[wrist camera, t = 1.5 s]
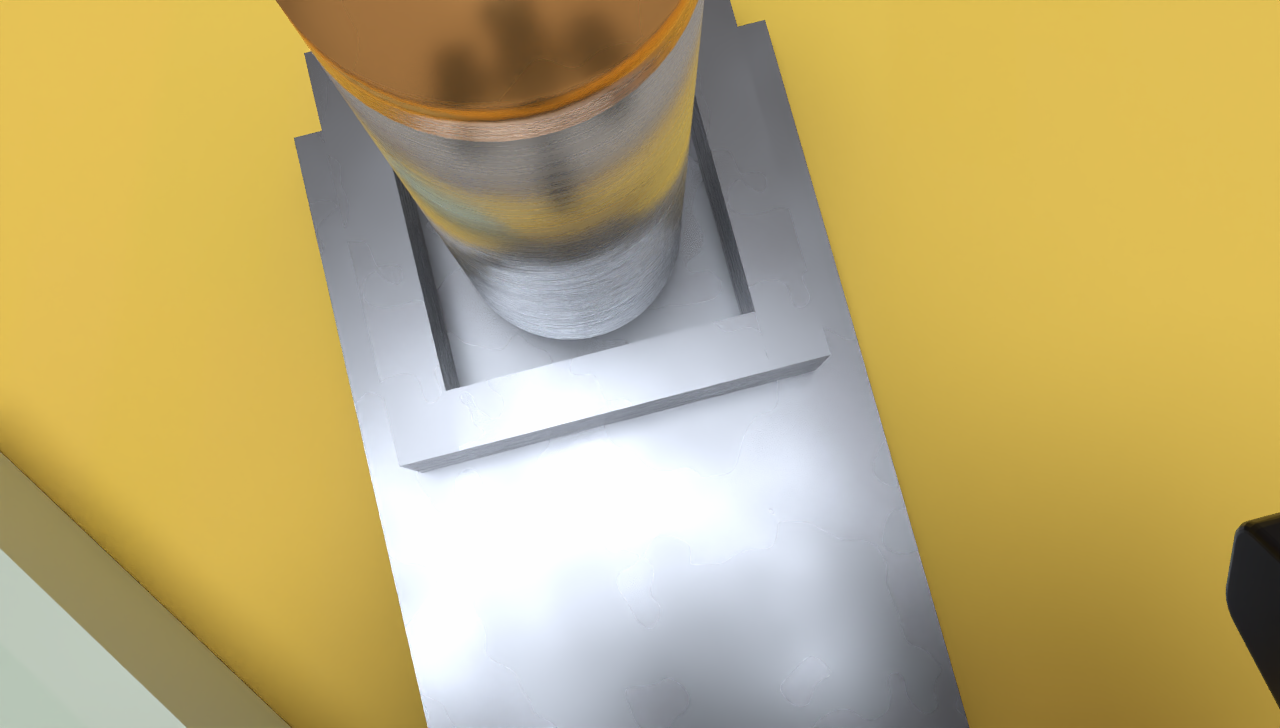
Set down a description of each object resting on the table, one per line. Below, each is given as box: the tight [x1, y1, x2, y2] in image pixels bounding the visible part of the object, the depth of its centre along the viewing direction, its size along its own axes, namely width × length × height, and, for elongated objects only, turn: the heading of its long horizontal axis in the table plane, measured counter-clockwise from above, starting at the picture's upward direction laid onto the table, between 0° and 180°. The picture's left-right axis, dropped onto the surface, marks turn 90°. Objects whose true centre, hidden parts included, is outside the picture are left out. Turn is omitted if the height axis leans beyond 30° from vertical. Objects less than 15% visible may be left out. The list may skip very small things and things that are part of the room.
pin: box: [276, 0, 704, 339], centre depth 16 cm, size 4×4×12 cm
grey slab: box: [294, 0, 969, 728], centre depth 21 cm, size 15×9×3 cm, turn 15°
